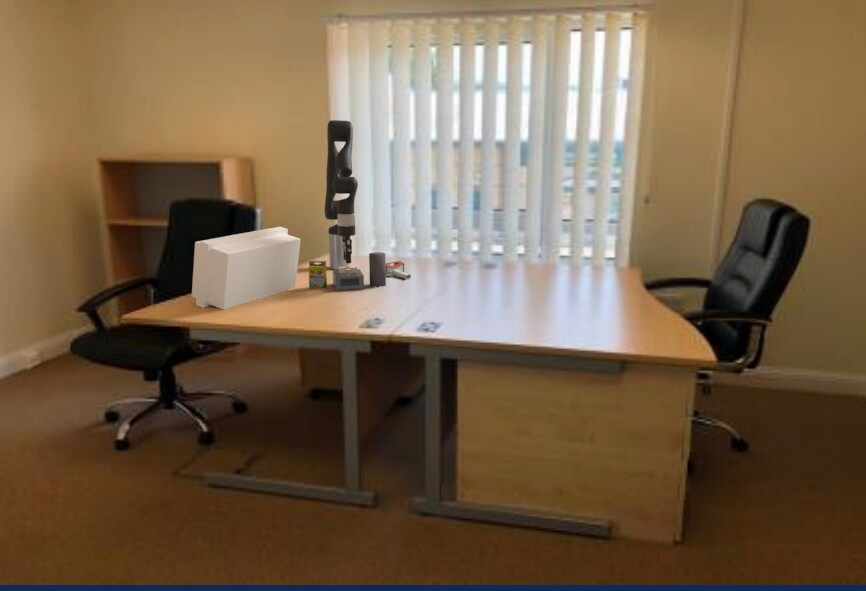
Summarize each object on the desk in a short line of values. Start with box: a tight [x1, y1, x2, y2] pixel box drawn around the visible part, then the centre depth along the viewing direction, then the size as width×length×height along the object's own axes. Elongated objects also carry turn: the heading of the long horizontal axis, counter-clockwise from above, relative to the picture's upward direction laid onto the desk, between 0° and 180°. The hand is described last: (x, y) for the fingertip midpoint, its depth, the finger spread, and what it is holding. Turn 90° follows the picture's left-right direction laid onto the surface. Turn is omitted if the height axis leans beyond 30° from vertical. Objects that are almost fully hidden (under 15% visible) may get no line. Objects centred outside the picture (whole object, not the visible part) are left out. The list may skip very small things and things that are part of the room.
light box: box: [191, 226, 302, 310], centre depth 279 cm, size 45×17×26 cm, turn 151°
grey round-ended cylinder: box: [368, 251, 387, 288], centre depth 300 cm, size 7×7×14 cm
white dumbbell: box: [338, 265, 358, 273], centre depth 297 cm, size 1×8×3 cm, turn 103°
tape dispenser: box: [385, 260, 412, 281], centre depth 322 cm, size 18×5×20 cm
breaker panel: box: [332, 268, 365, 291], centre depth 298 cm, size 14×12×6 cm
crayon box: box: [308, 260, 328, 289], centre depth 295 cm, size 7×3×12 cm, turn 93°
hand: (347, 261), depth 297 cm, fingers open, 8 cm apart
